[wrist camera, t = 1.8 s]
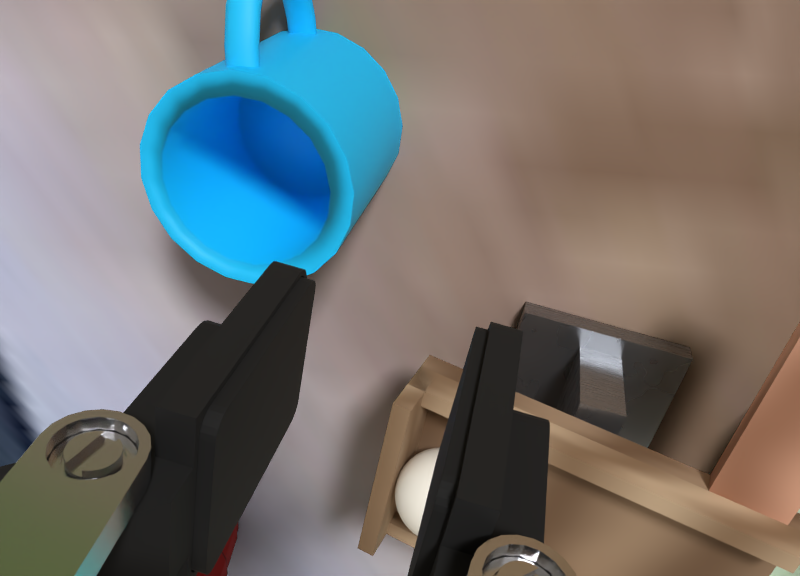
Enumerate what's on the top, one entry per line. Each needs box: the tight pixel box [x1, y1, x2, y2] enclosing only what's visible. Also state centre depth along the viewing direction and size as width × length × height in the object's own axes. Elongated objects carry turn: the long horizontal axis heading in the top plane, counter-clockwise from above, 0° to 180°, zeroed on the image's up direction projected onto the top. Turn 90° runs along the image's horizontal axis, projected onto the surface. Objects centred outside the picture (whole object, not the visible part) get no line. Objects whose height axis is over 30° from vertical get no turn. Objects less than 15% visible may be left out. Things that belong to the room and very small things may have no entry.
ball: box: [395, 448, 440, 536], centre depth 32 cm, size 4×4×4 cm
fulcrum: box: [516, 302, 693, 448], centre depth 35 cm, size 8×12×5 cm, turn 168°
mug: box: [140, 0, 403, 284], centre depth 28 cm, size 12×8×8 cm
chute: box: [358, 322, 800, 576], centre depth 29 cm, size 16×18×4 cm
